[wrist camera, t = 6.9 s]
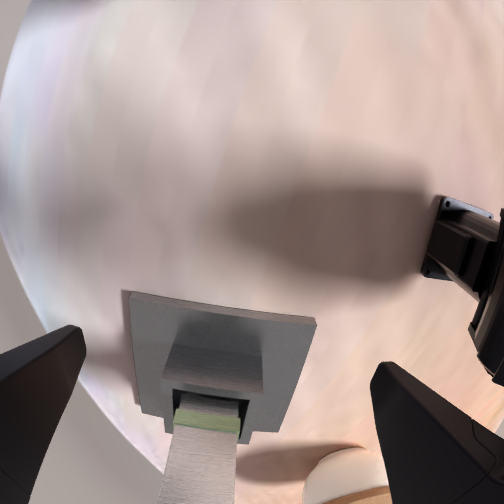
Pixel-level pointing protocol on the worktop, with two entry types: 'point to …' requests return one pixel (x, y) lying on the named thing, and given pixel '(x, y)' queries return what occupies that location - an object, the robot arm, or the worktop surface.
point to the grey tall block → (202, 453)
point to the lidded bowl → (348, 479)
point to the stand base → (217, 358)
